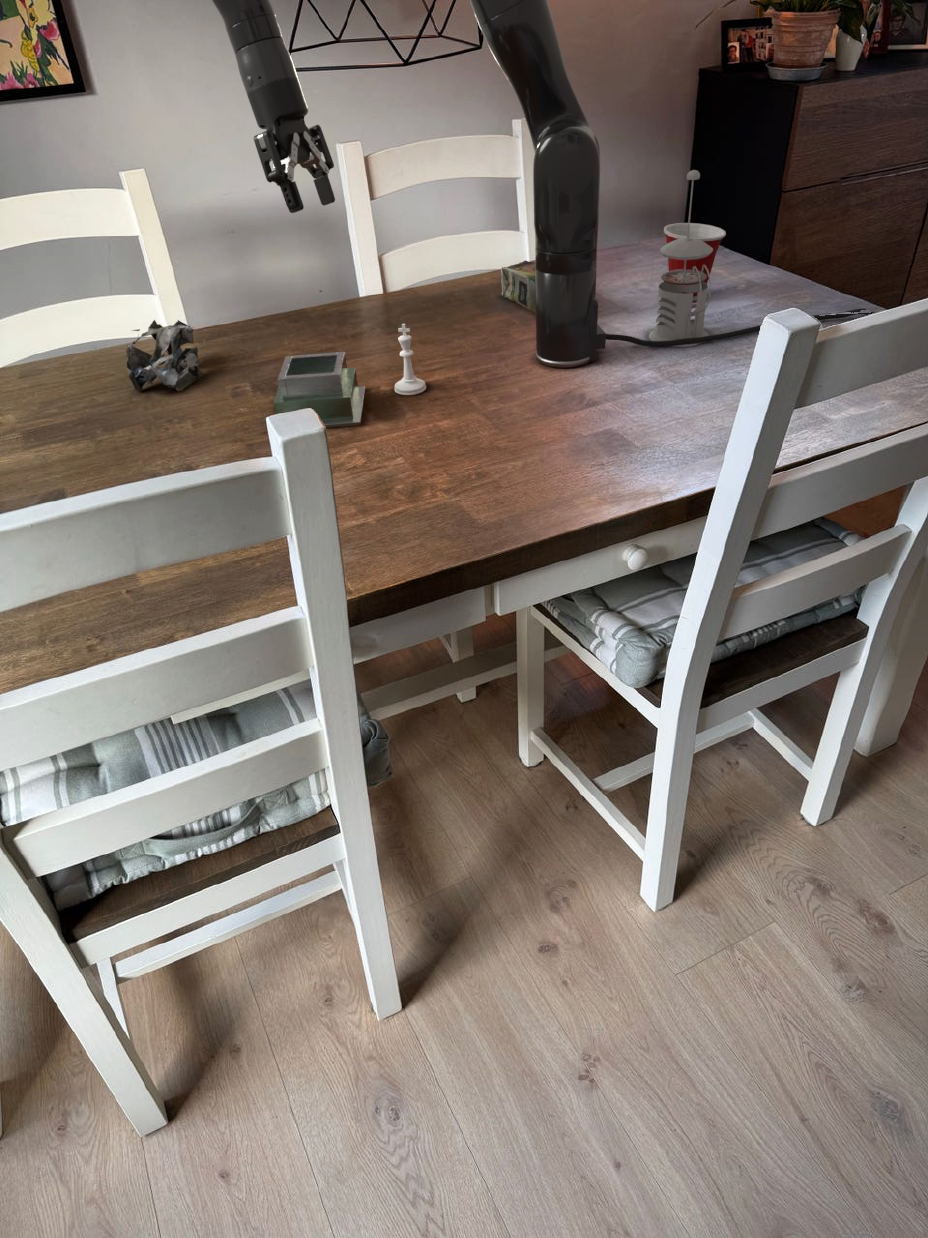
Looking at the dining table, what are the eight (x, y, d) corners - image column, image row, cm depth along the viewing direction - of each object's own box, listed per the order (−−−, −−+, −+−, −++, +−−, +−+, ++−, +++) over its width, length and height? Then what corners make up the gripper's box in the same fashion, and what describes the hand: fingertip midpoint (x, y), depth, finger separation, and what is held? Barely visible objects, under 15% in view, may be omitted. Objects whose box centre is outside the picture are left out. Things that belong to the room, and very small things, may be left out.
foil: (99, 370, 138) (148, 295, 140) (147, 409, 147) (193, 339, 149) (140, 381, 131) (191, 303, 134) (188, 422, 140) (235, 348, 143)
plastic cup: (724, 305, 153) (733, 233, 146) (663, 308, 154) (669, 237, 146) (711, 286, 162) (719, 218, 154) (653, 289, 162) (658, 222, 155)
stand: (365, 389, 133) (359, 345, 129) (360, 425, 123) (353, 378, 118) (282, 395, 133) (273, 351, 129) (270, 432, 123) (260, 385, 119)
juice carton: (496, 294, 165) (495, 261, 162) (540, 285, 169) (540, 253, 165) (550, 325, 151) (551, 289, 147) (597, 314, 154) (599, 279, 150)
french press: (689, 322, 147) (705, 160, 132) (726, 343, 139) (748, 173, 123) (638, 331, 145) (648, 168, 130) (672, 354, 136) (687, 182, 121)
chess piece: (421, 395, 130) (415, 330, 124) (390, 394, 131) (382, 329, 125) (429, 382, 134) (423, 318, 127) (399, 382, 135) (391, 318, 128)
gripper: (261, 75, 112) (306, 206, 119) (320, 73, 123) (358, 193, 129) (220, 95, 116) (266, 221, 122) (280, 91, 126) (319, 208, 133)
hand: (313, 207), depth 126 cm, fingers open, 8 cm apart
